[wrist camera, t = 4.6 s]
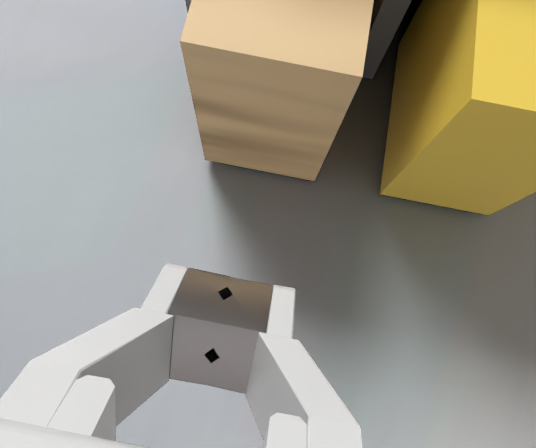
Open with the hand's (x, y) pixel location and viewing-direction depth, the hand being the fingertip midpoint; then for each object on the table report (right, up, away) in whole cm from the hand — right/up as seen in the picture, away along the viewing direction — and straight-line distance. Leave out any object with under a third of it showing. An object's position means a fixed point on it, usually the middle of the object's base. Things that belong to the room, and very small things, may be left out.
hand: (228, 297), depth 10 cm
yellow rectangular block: (+9, +6, +10) cm, 15 cm away
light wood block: (+1, +8, +10) cm, 13 cm away
